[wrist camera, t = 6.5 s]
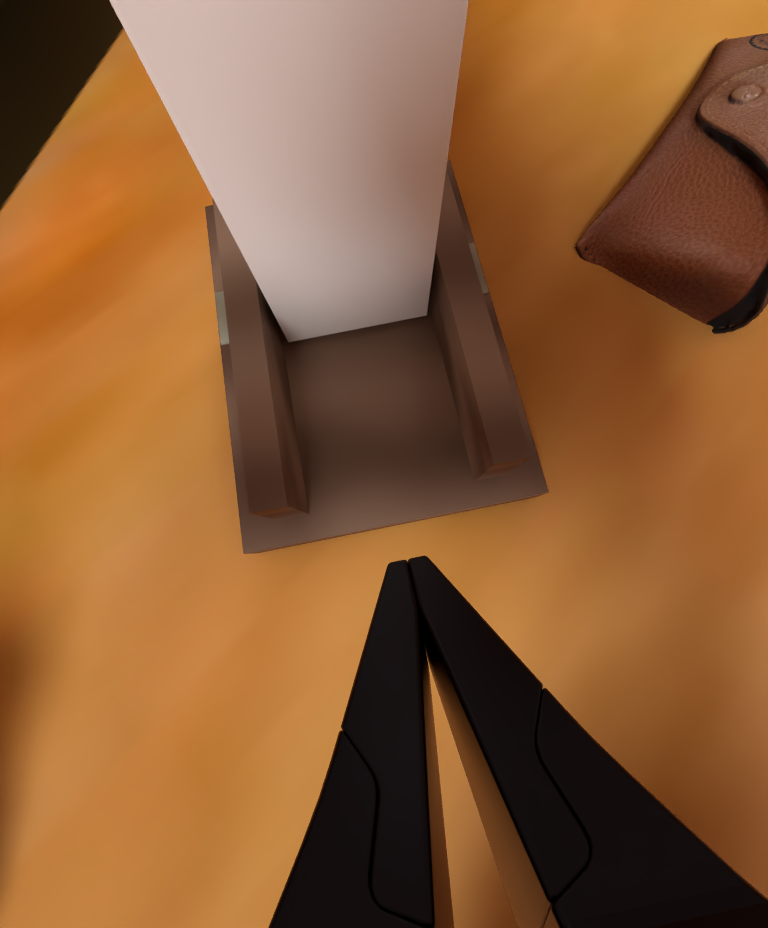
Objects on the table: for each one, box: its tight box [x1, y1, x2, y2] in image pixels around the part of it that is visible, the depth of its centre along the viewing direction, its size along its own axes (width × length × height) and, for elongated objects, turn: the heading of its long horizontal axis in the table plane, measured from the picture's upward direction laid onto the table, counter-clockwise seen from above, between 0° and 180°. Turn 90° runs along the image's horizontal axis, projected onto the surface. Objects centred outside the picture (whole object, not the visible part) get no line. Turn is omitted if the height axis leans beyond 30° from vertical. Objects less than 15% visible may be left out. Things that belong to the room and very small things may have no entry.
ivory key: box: [110, 0, 469, 342], centre depth 10 cm, size 5×6×13 cm
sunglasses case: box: [575, 33, 768, 334], centre depth 18 cm, size 18×7×7 cm
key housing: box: [205, 160, 549, 554], centre depth 15 cm, size 16×12×6 cm
